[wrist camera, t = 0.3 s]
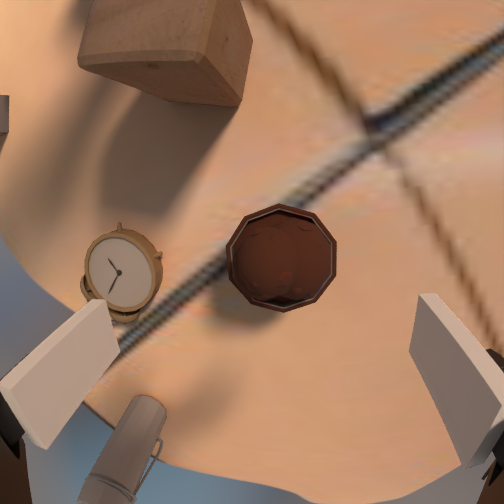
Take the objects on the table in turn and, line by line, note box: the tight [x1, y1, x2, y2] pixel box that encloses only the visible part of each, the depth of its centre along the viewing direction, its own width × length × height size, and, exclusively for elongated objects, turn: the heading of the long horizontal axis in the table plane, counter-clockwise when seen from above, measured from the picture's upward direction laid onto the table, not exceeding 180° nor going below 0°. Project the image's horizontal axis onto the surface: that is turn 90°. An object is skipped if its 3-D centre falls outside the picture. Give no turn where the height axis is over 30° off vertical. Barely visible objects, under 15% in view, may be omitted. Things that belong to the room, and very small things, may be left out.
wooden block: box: [77, 0, 253, 107], centre depth 25 cm, size 10×10×20 cm
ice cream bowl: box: [226, 204, 337, 313], centre depth 32 cm, size 11×11×15 cm
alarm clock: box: [80, 222, 163, 324], centre depth 42 cm, size 11×5×15 cm
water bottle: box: [77, 395, 167, 504], centre depth 40 cm, size 9×8×25 cm
